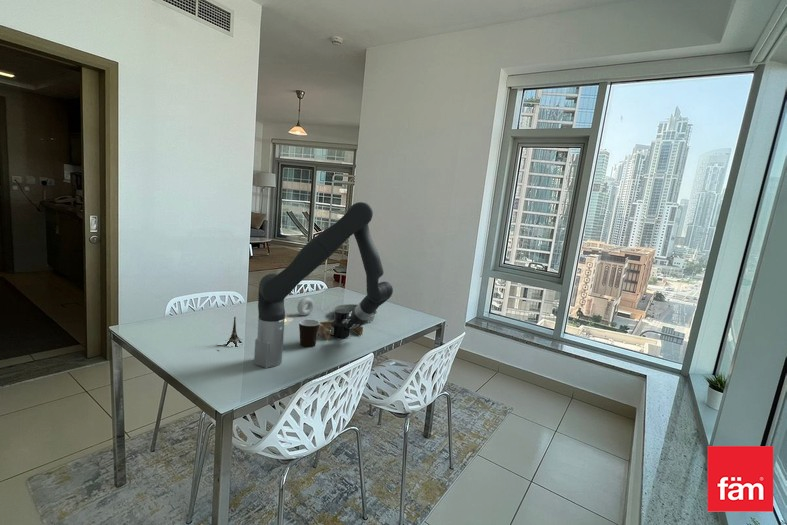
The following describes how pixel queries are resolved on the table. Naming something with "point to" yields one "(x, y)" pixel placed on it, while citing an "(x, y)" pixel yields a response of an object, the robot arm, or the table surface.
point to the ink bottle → (339, 324)
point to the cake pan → (351, 307)
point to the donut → (309, 308)
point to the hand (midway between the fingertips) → (347, 330)
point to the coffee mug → (308, 332)
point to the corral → (326, 327)
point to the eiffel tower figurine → (234, 335)
